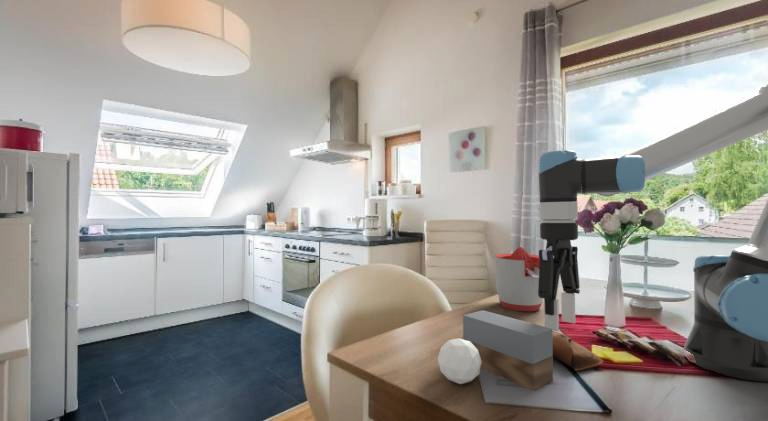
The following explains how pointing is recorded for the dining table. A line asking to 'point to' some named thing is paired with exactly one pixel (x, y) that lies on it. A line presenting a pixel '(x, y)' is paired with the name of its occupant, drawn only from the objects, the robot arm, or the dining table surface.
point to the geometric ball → (459, 361)
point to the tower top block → (509, 336)
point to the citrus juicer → (518, 280)
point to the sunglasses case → (573, 353)
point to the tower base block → (516, 368)
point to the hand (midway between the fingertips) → (560, 325)
